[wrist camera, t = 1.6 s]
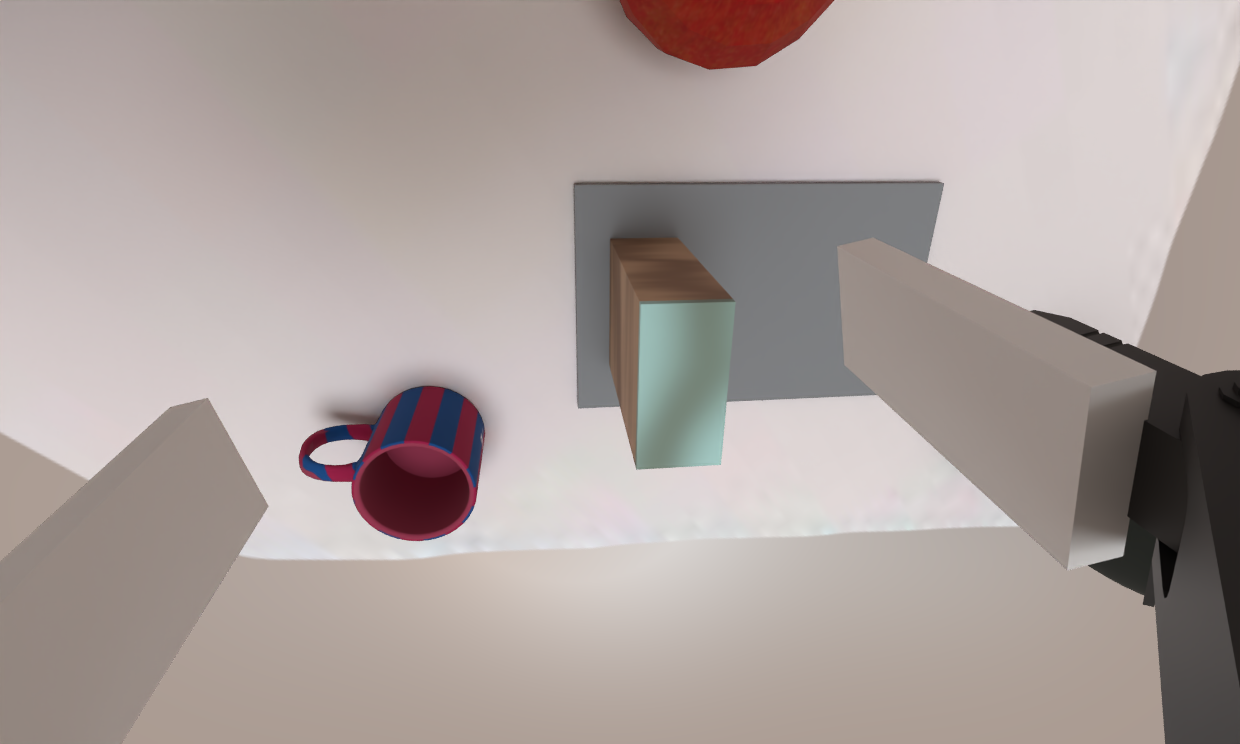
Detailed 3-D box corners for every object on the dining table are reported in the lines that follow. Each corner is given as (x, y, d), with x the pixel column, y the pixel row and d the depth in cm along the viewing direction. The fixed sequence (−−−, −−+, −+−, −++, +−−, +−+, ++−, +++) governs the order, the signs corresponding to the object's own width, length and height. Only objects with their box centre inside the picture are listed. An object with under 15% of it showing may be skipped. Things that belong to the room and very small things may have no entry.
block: (609, 364, 40) (636, 469, 30) (609, 238, 37) (640, 304, 26) (671, 362, 41) (720, 464, 30) (677, 237, 38) (735, 301, 27)
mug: (468, 485, 44) (457, 552, 37) (315, 447, 41) (276, 512, 35) (497, 402, 41) (491, 459, 35) (337, 356, 39) (300, 409, 33)
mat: (577, 404, 42) (578, 408, 41) (573, 183, 36) (574, 185, 36) (894, 389, 44) (898, 393, 44) (938, 182, 39) (944, 183, 38)
